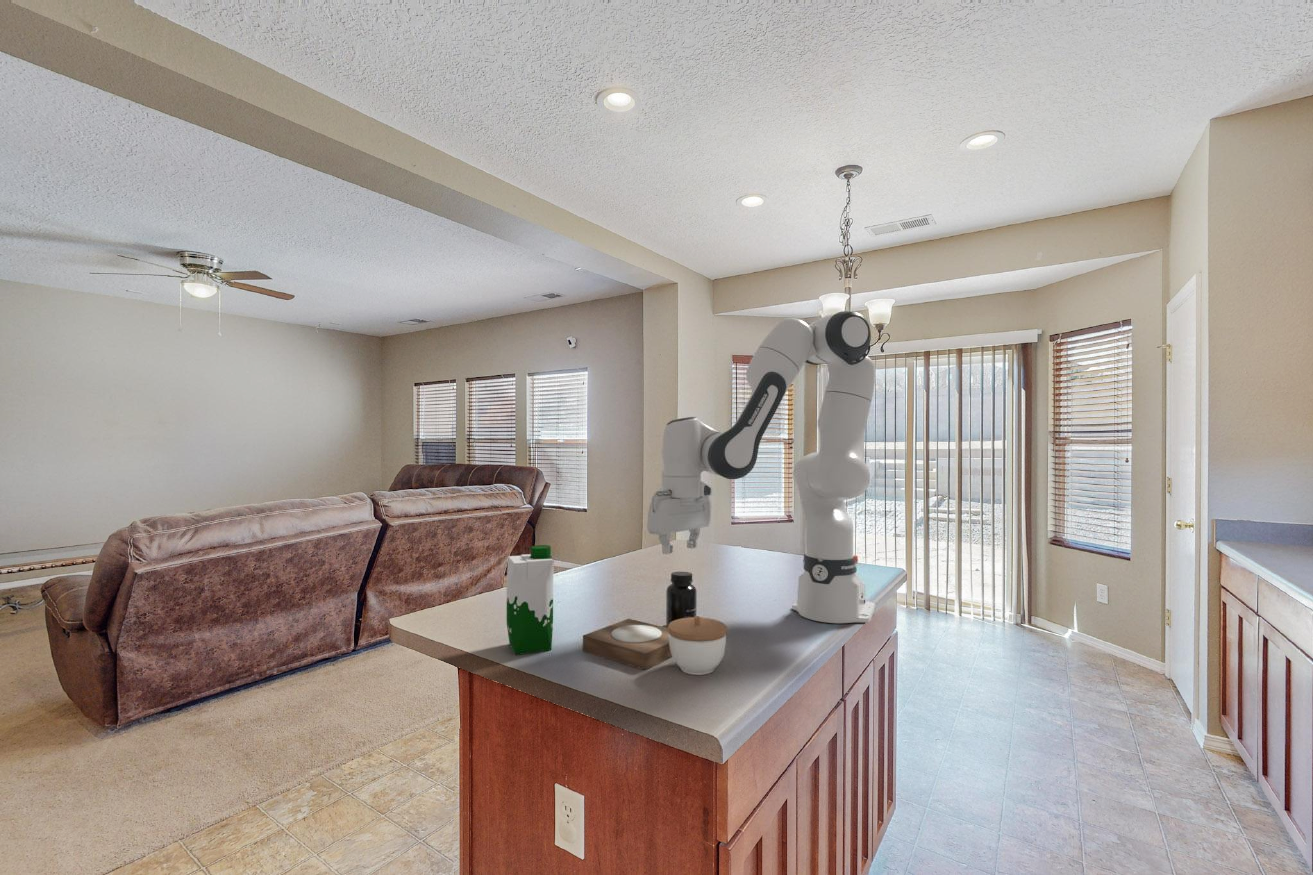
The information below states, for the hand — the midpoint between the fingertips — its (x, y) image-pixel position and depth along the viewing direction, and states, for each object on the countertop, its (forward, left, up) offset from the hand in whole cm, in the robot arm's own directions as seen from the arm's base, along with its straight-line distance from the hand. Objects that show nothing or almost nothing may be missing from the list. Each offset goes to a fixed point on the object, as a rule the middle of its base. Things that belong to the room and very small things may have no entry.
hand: (679, 550), depth 127 cm
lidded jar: (+17, +16, -17) cm, 29 cm away
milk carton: (+29, -17, -17) cm, 38 cm away
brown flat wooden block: (+17, +1, -17) cm, 24 cm away
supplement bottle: (0, 0, -17) cm, 17 cm away
